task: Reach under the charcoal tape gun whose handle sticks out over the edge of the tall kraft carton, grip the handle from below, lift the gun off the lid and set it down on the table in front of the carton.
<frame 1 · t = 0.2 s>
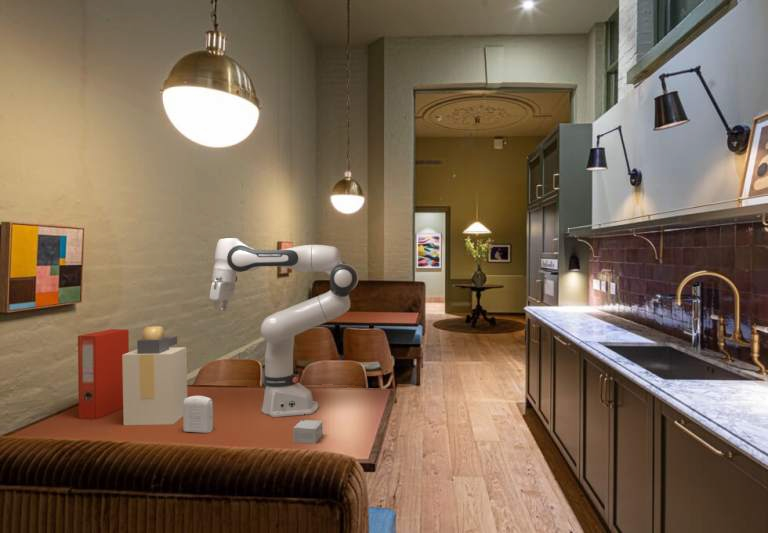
hand: (220, 311, 183), 40 cm above the table, tool pointing down, fingers open, 8 cm apart
tape gun: (153, 351, 172), point 26 cm above the table, touching carton
carton: (156, 418, 174), on the table
file binder: (105, 412, 183), on the table
small box: (308, 439, 153), on the table
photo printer: (198, 431, 161), on the table
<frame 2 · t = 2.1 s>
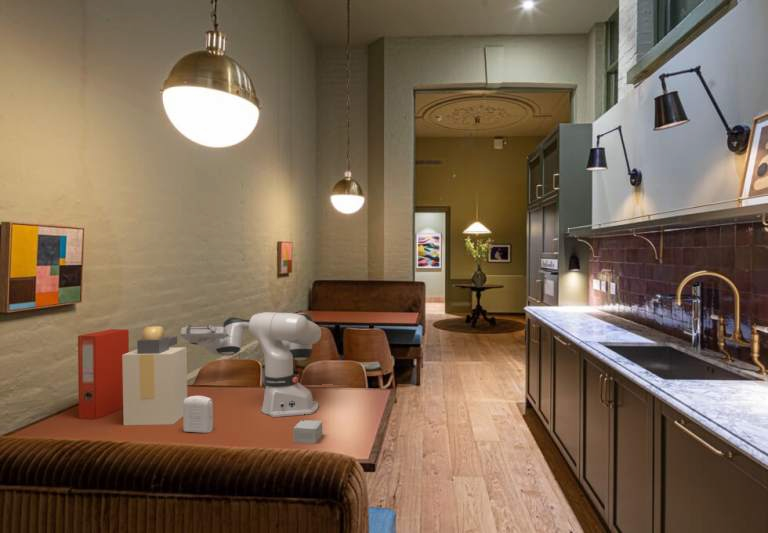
hand: (198, 326, 208), 30 cm above the table, tool pointing upward, fingers open, 8 cm apart
nothing on the table moved.
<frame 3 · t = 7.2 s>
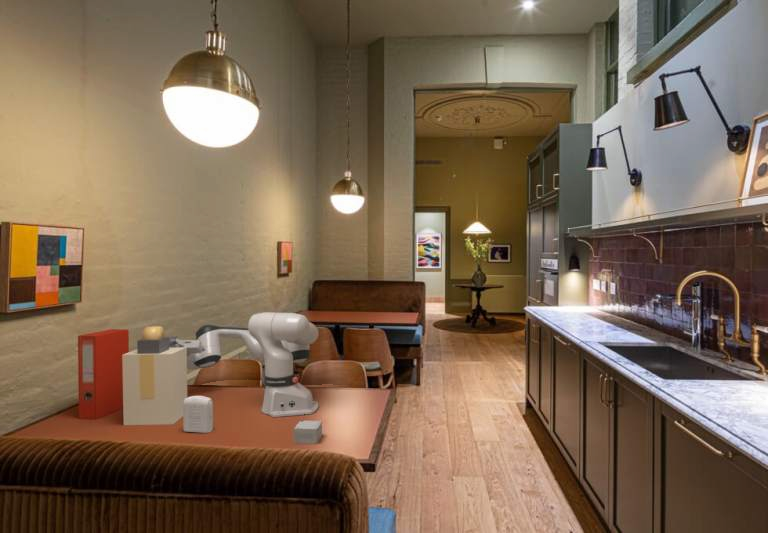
hand: (170, 340, 186), 28 cm above the table, tool pointing upward, fingers closed on tape gun, 3 cm apart
tape gun: (153, 351, 172), point 26 cm above the table, touching carton, gripper
everything else where it was.
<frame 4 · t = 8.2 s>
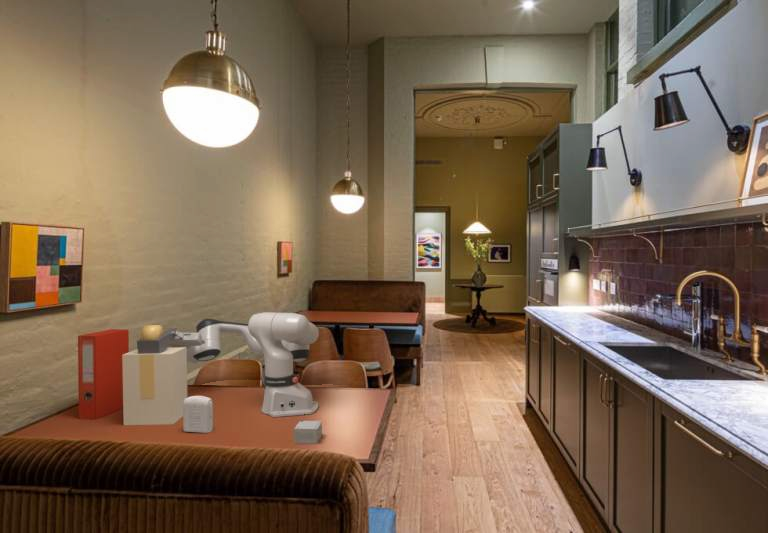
hand: (169, 332, 186), 31 cm above the table, tool pointing upward, fingers closed on tape gun, 3 cm apart
tape gun: (154, 349, 173), point 27 cm above the table, tilted 10°, touching gripper
everything else where it was.
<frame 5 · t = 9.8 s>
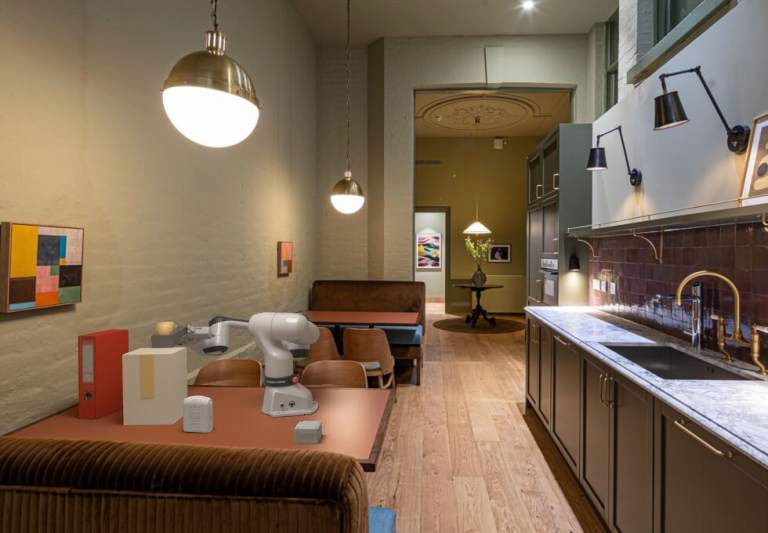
hand: (182, 326, 198), 32 cm above the table, tool pointing upward, fingers closed on tape gun, 3 cm apart
tape gun: (166, 344, 184), point 27 cm above the table, tilted 7°, touching gripper
everything else where it was.
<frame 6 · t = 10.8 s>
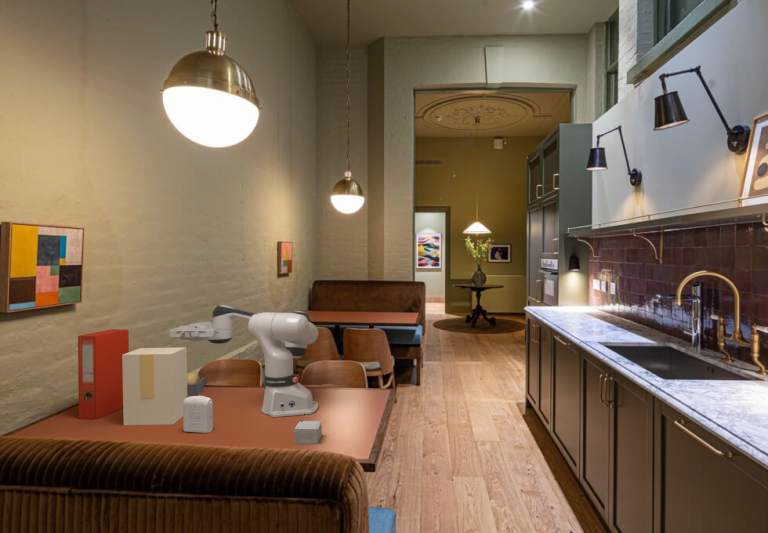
hand: (186, 334, 202), 28 cm above the table, tool horizontal, fingers open, 3 cm apart
tape gun: (191, 393, 208), on the table
everything else where it was.
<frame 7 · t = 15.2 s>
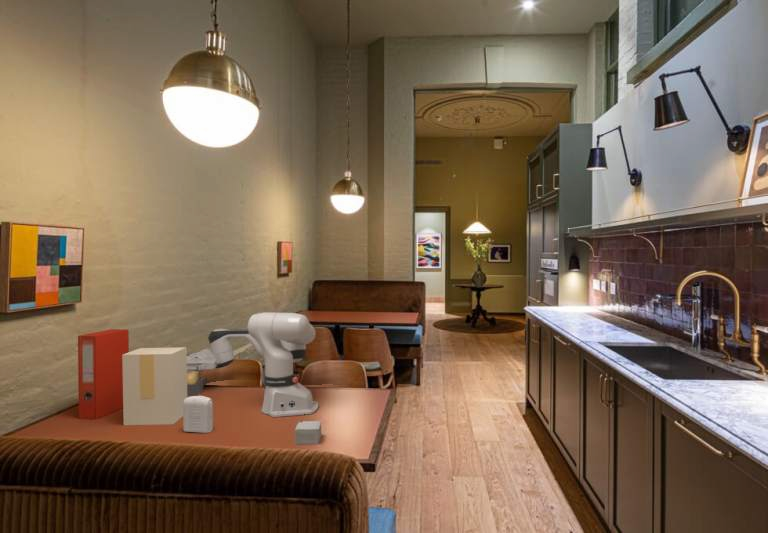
hand: (187, 368, 203), 13 cm above the table, tool horizontal, fingers open, 8 cm apart
nothing on the table moved.
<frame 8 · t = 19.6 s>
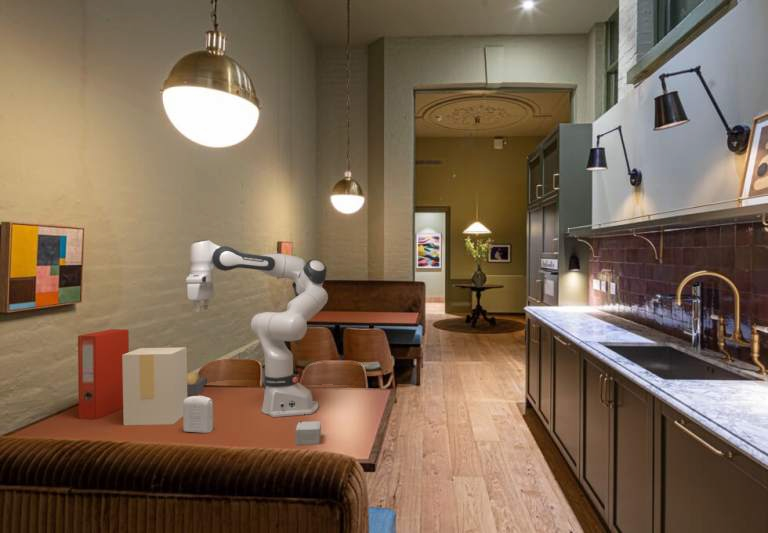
hand: (202, 310, 194), 39 cm above the table, tool pointing down, fingers open, 8 cm apart
at the end: tape gun inside the target area (9.1 cm from its centre), on the table; tape gun on the table; the gripper is holding nothing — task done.
